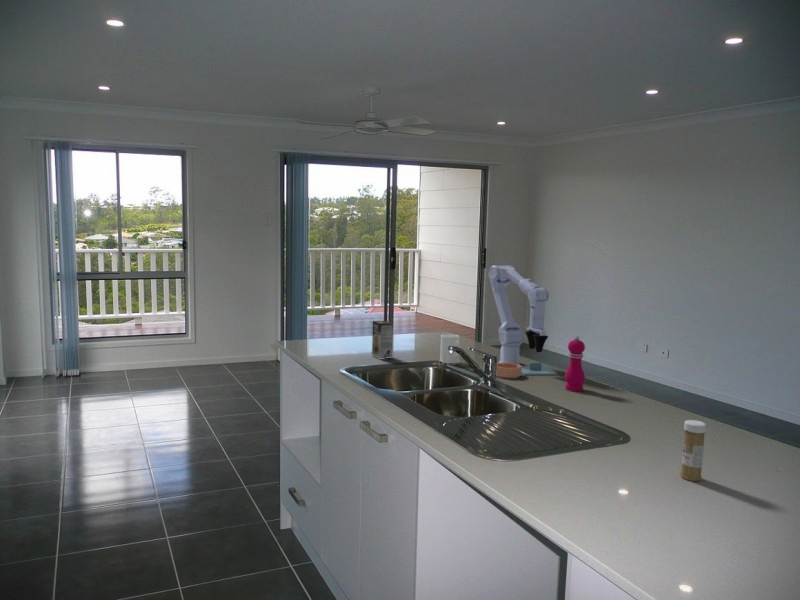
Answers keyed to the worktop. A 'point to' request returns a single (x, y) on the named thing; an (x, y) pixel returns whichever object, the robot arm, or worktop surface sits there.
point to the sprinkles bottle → (693, 450)
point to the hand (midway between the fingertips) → (535, 350)
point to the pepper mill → (575, 366)
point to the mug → (444, 353)
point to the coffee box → (382, 339)
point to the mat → (541, 375)
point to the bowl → (508, 370)
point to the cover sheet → (537, 369)
